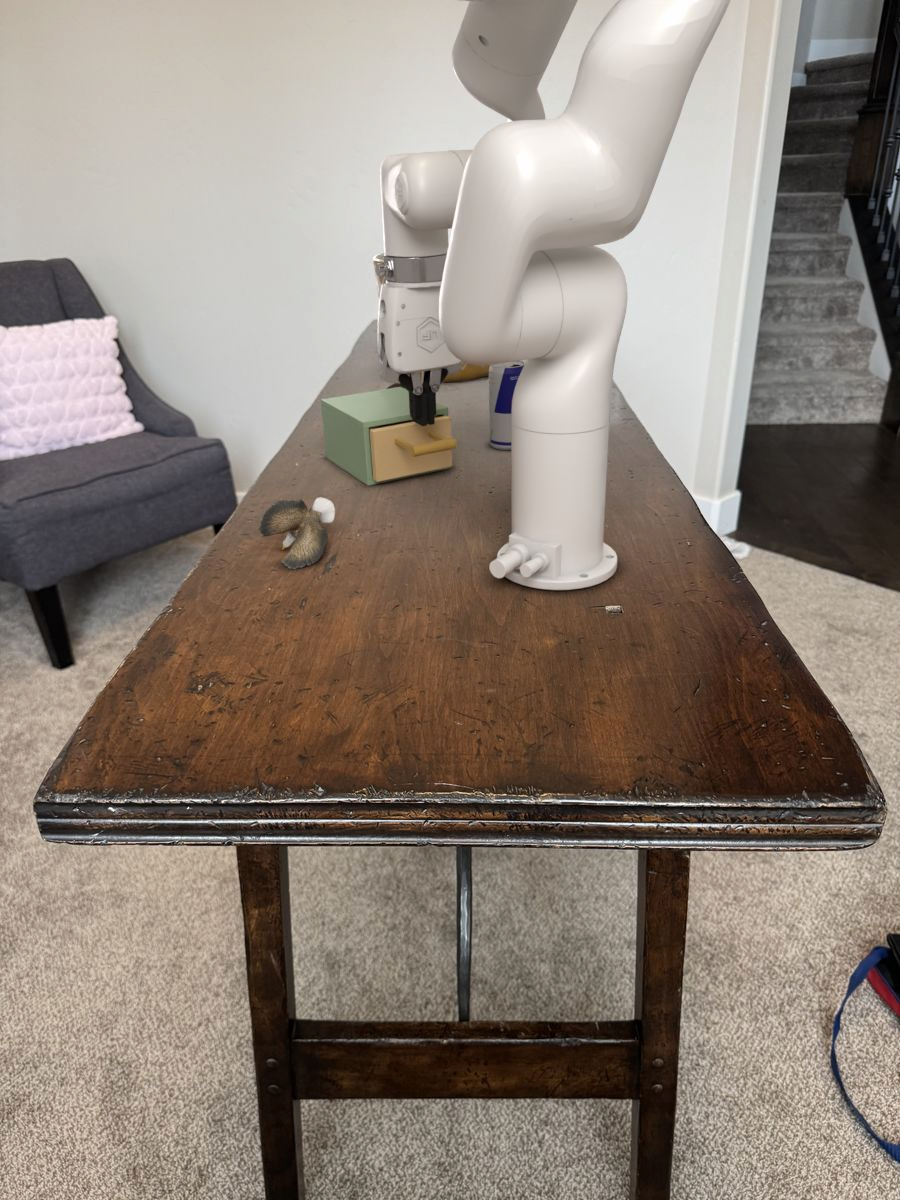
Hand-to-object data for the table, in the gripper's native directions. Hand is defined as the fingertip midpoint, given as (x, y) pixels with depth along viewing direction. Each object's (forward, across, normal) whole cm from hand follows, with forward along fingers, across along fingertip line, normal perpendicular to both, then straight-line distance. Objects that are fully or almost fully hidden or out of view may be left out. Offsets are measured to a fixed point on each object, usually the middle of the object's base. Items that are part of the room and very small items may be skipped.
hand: (423, 422), depth 113 cm
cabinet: (+9, 0, +12) cm, 15 cm away
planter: (+10, +35, +58) cm, 69 cm away
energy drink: (+9, +19, +9) cm, 23 cm away
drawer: (+8, 0, +7) cm, 10 cm away
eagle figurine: (+9, -22, -11) cm, 26 cm away
